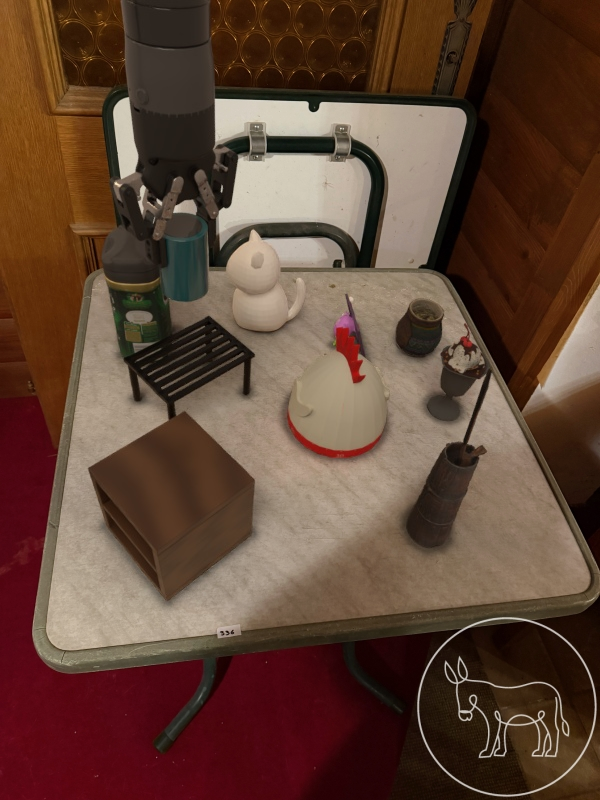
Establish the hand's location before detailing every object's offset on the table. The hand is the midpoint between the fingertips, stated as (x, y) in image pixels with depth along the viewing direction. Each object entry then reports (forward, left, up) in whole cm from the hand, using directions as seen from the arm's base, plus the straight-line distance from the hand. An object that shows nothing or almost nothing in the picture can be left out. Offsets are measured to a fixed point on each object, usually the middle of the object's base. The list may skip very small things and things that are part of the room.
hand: (182, 254), depth 62 cm
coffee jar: (+1, +13, -24) cm, 27 cm away
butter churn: (+10, -36, -24) cm, 44 cm away
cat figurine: (+19, +6, -24) cm, 31 cm away
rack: (0, 0, -24) cm, 24 cm away
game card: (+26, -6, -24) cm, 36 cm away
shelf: (-14, -16, -24) cm, 32 cm away
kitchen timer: (+13, -16, -24) cm, 32 cm away
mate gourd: (+34, -14, -24) cm, 44 cm away
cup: (0, 0, -5) cm, 5 cm away
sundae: (+27, -25, -24) cm, 44 cm away
